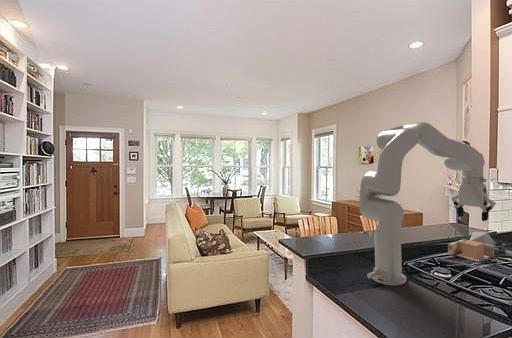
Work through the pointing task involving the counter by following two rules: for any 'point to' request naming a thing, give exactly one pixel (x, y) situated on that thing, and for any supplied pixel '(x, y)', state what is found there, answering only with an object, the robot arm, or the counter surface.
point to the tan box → (457, 247)
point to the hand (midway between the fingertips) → (472, 218)
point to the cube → (473, 249)
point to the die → (482, 238)
